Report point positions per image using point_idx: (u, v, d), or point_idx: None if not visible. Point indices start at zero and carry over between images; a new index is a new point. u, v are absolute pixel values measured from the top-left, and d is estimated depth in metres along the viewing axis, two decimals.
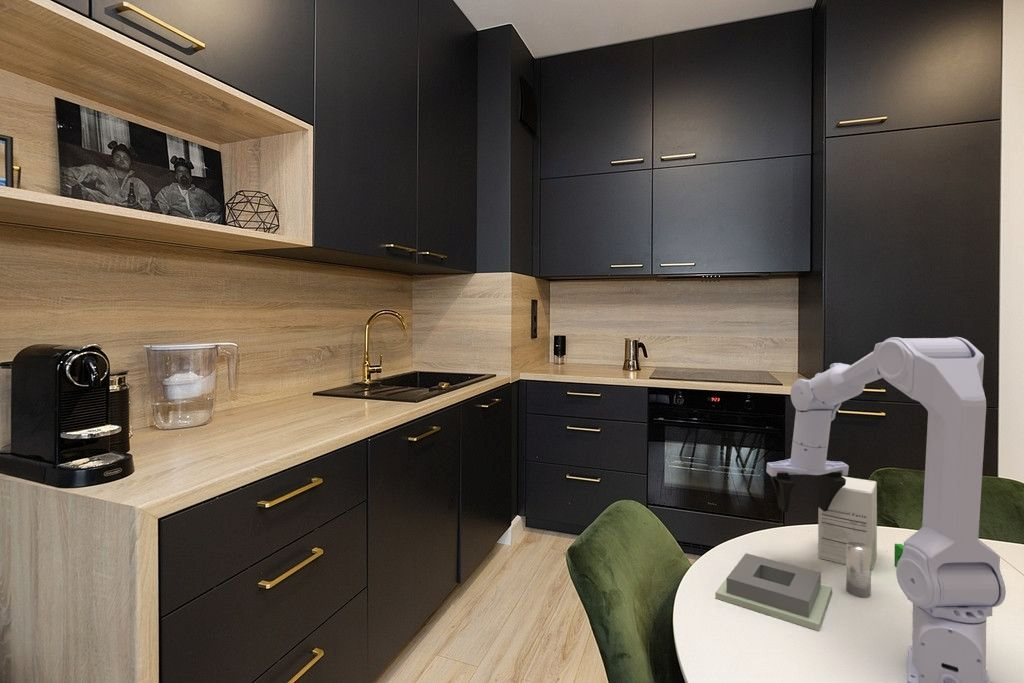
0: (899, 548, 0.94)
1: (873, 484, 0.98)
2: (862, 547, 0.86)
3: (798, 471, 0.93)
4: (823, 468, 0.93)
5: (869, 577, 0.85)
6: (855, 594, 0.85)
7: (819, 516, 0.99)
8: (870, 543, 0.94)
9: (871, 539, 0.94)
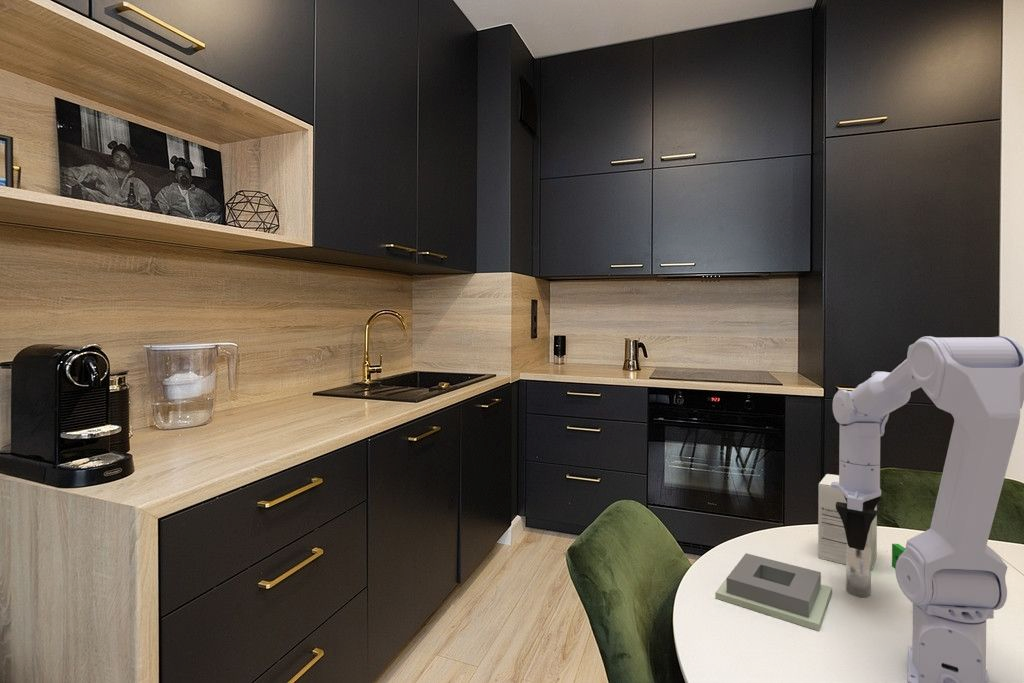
0: (896, 548, 0.94)
1: None
2: None
3: (873, 496, 0.82)
4: None
5: (869, 577, 0.85)
6: (855, 594, 0.85)
7: (819, 516, 0.99)
8: (870, 543, 0.94)
9: (871, 539, 0.94)
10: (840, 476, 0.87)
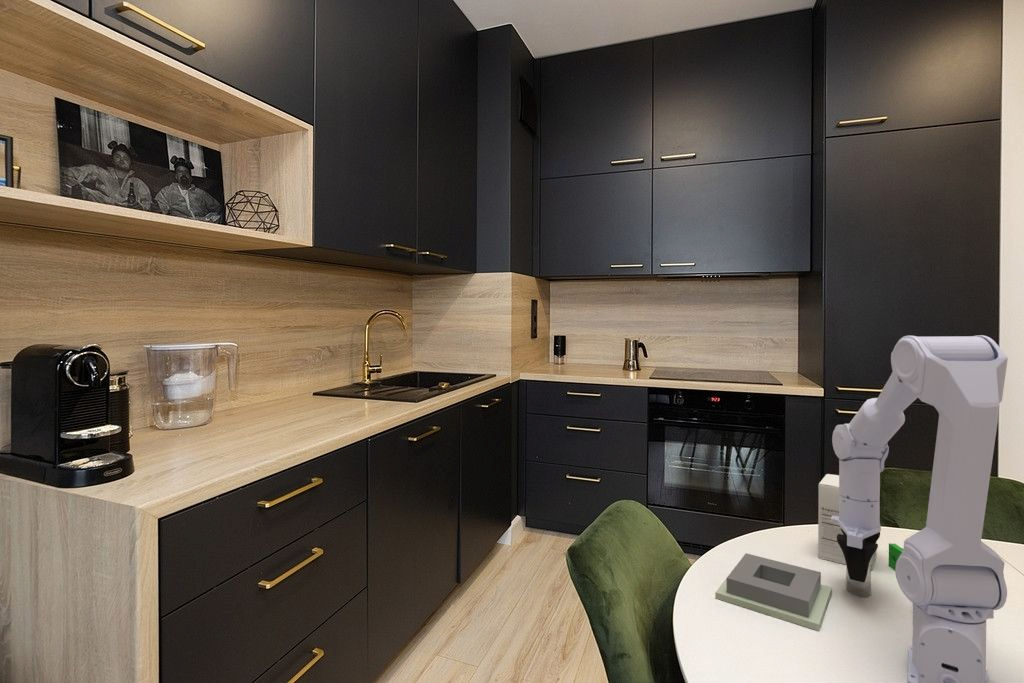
0: (893, 548, 0.95)
1: None
2: None
3: (873, 533, 0.82)
4: None
5: (869, 577, 0.85)
6: (855, 594, 0.85)
7: (819, 516, 0.99)
8: None
9: None
10: (840, 511, 0.87)
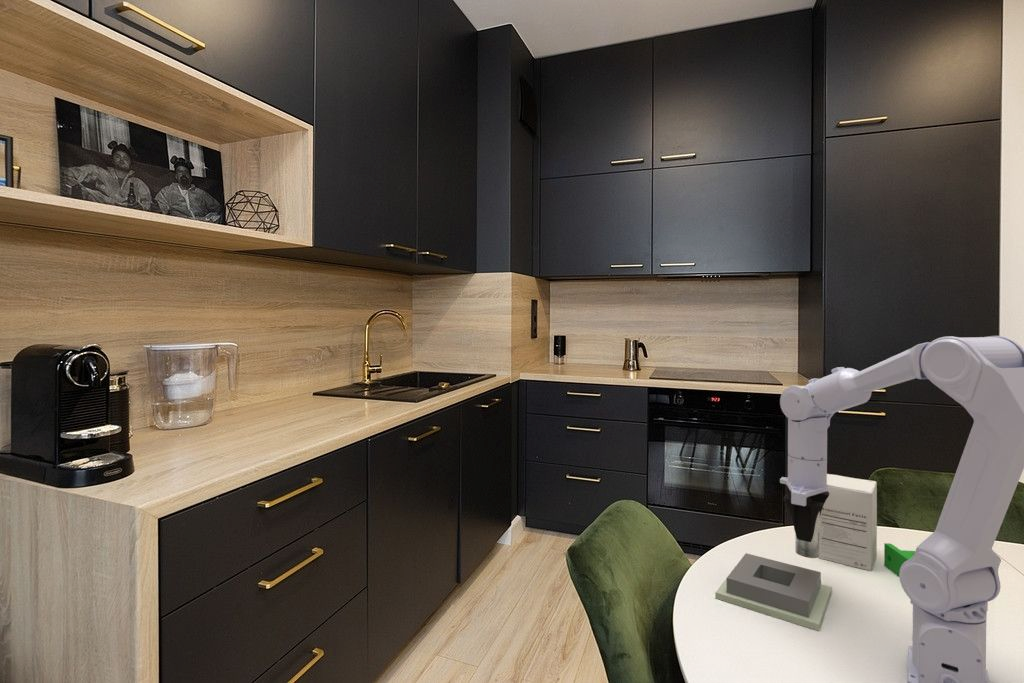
0: (889, 548, 0.95)
1: (873, 484, 0.98)
2: None
3: (818, 491, 0.82)
4: None
5: (817, 537, 0.84)
6: (804, 555, 0.84)
7: None
8: (870, 543, 0.94)
9: (871, 539, 0.94)
10: (788, 471, 0.86)
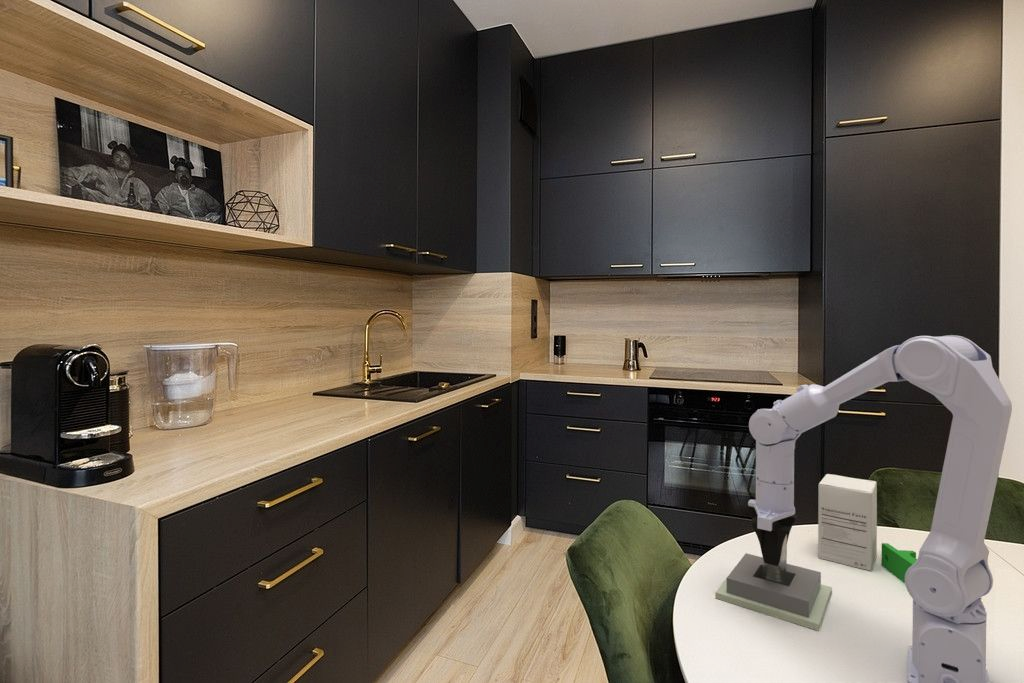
0: (886, 547, 0.95)
1: (873, 484, 0.98)
2: None
3: (785, 515, 0.82)
4: None
5: (785, 561, 0.84)
6: (771, 578, 0.84)
7: (819, 516, 0.99)
8: (870, 543, 0.94)
9: (871, 539, 0.94)
10: (756, 494, 0.86)
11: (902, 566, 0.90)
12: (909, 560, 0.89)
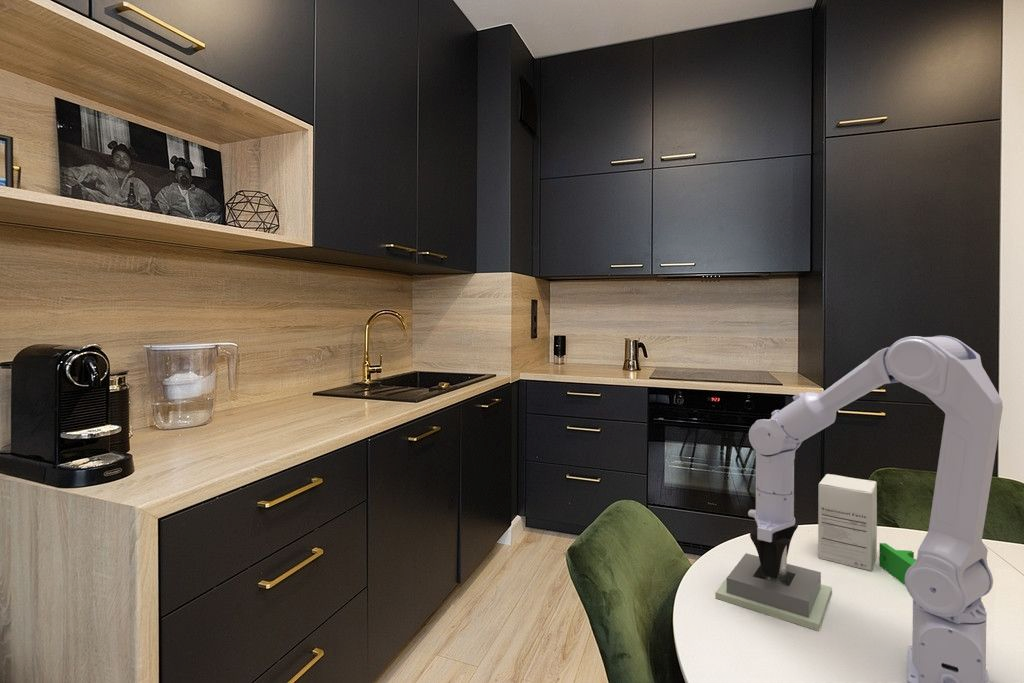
0: (884, 547, 0.95)
1: (873, 484, 0.98)
2: None
3: (785, 526, 0.82)
4: None
5: (785, 574, 0.84)
6: None
7: (819, 516, 0.99)
8: (870, 543, 0.94)
9: (871, 539, 0.94)
10: (756, 504, 0.86)
11: (900, 566, 0.90)
12: (907, 560, 0.89)
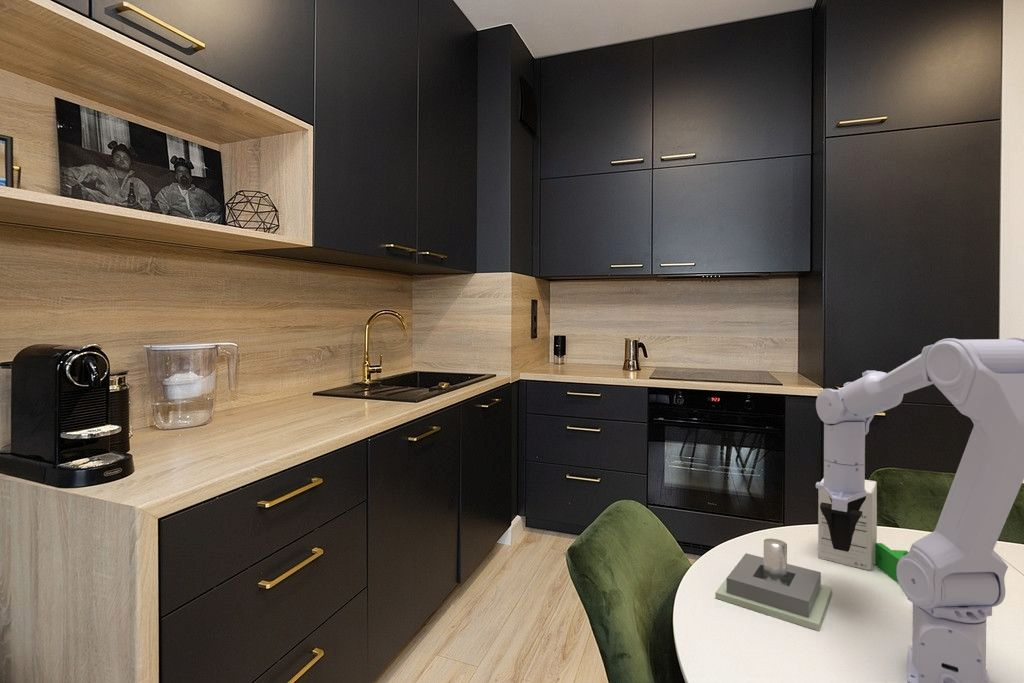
0: (879, 547, 0.95)
1: (873, 484, 0.98)
2: (778, 543, 0.85)
3: (858, 496, 0.81)
4: None
5: (785, 574, 0.84)
6: None
7: (819, 516, 0.99)
8: (870, 543, 0.94)
9: (871, 539, 0.94)
10: (825, 476, 0.85)
11: (896, 566, 0.90)
12: None
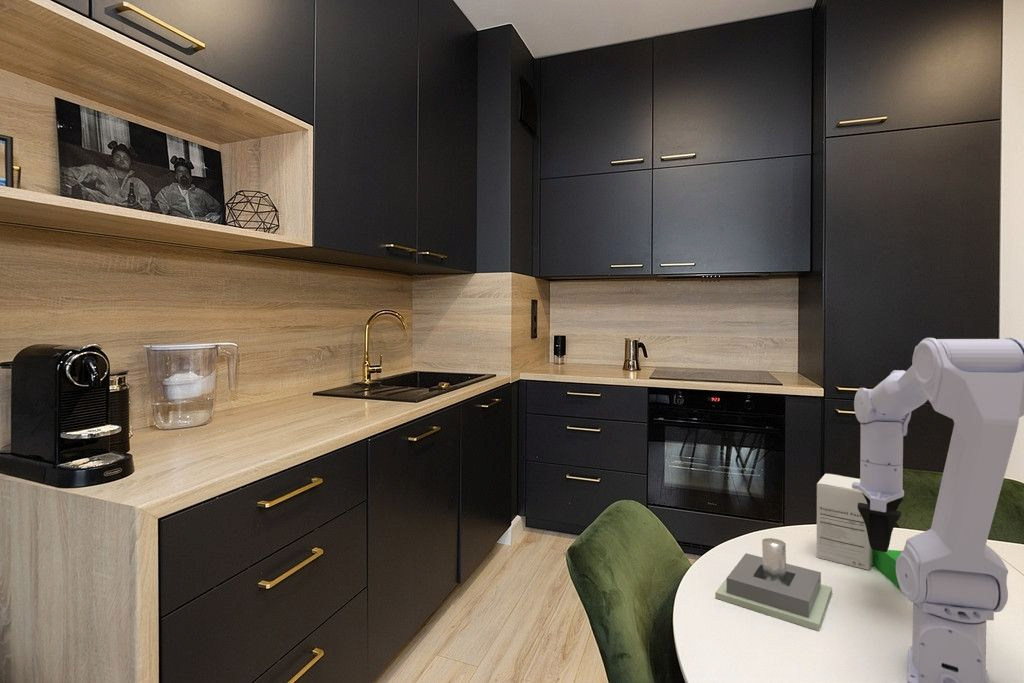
0: None
1: None
2: (777, 542, 0.85)
3: (896, 497, 0.80)
4: None
5: (784, 573, 0.84)
6: None
7: (817, 515, 0.99)
8: (868, 542, 0.94)
9: None
10: (861, 476, 0.85)
11: (890, 566, 0.90)
12: None
